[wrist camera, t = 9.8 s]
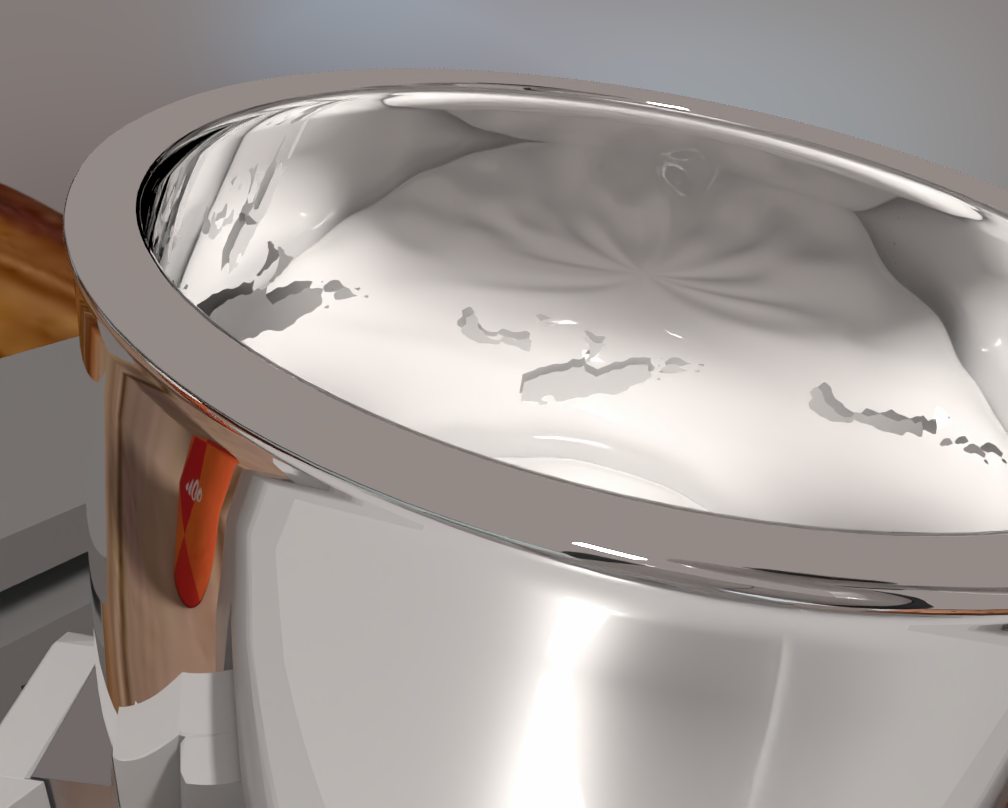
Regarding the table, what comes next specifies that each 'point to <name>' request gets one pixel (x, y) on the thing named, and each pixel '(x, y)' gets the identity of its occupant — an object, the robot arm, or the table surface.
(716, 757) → the steel tumbler
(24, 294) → the table surface
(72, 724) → the robot arm
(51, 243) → the table surface
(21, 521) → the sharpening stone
